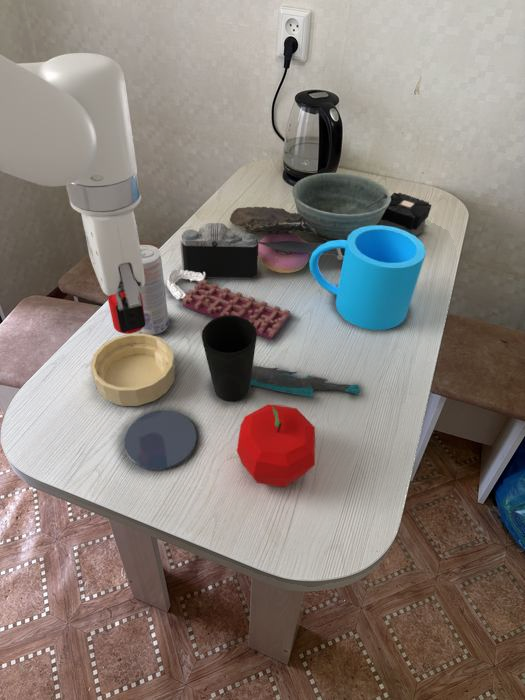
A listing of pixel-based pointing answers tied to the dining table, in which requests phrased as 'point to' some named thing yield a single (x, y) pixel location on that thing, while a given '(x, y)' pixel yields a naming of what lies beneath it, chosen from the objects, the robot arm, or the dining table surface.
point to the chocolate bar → (236, 308)
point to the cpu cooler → (406, 213)
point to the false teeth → (178, 274)
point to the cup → (230, 355)
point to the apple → (276, 445)
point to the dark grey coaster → (160, 440)
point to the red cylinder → (112, 305)
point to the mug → (374, 275)
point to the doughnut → (282, 254)
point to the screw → (378, 200)
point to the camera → (219, 252)
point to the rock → (270, 220)
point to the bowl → (339, 203)
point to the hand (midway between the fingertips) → (128, 315)
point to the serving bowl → (133, 369)
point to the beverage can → (153, 292)
